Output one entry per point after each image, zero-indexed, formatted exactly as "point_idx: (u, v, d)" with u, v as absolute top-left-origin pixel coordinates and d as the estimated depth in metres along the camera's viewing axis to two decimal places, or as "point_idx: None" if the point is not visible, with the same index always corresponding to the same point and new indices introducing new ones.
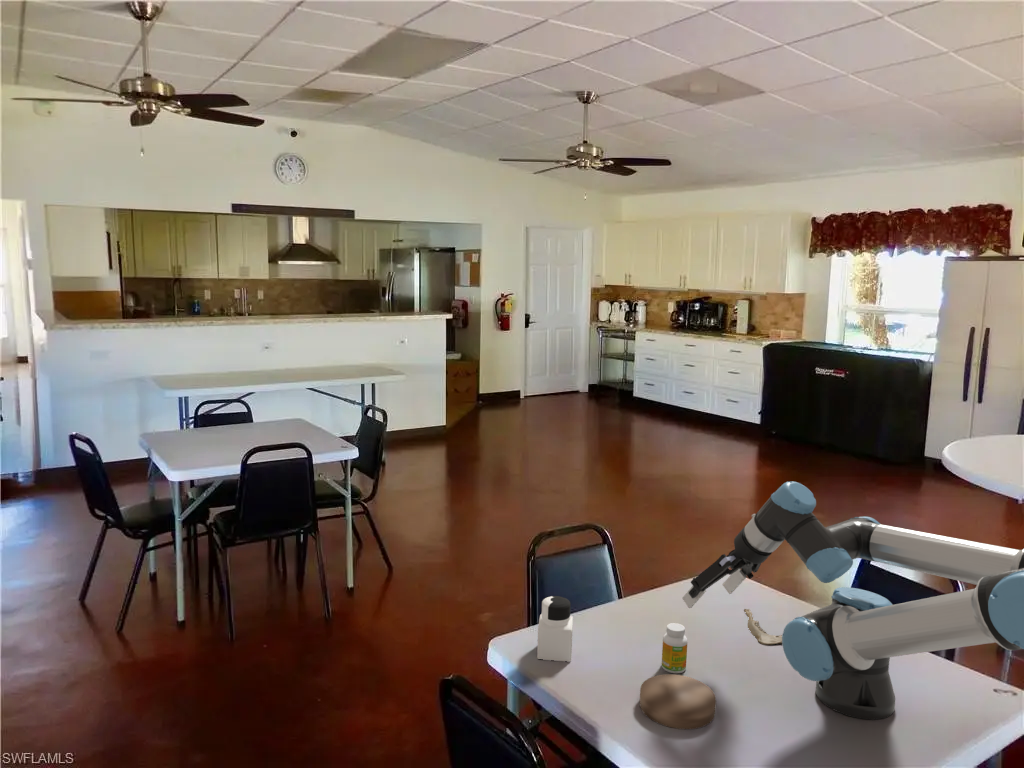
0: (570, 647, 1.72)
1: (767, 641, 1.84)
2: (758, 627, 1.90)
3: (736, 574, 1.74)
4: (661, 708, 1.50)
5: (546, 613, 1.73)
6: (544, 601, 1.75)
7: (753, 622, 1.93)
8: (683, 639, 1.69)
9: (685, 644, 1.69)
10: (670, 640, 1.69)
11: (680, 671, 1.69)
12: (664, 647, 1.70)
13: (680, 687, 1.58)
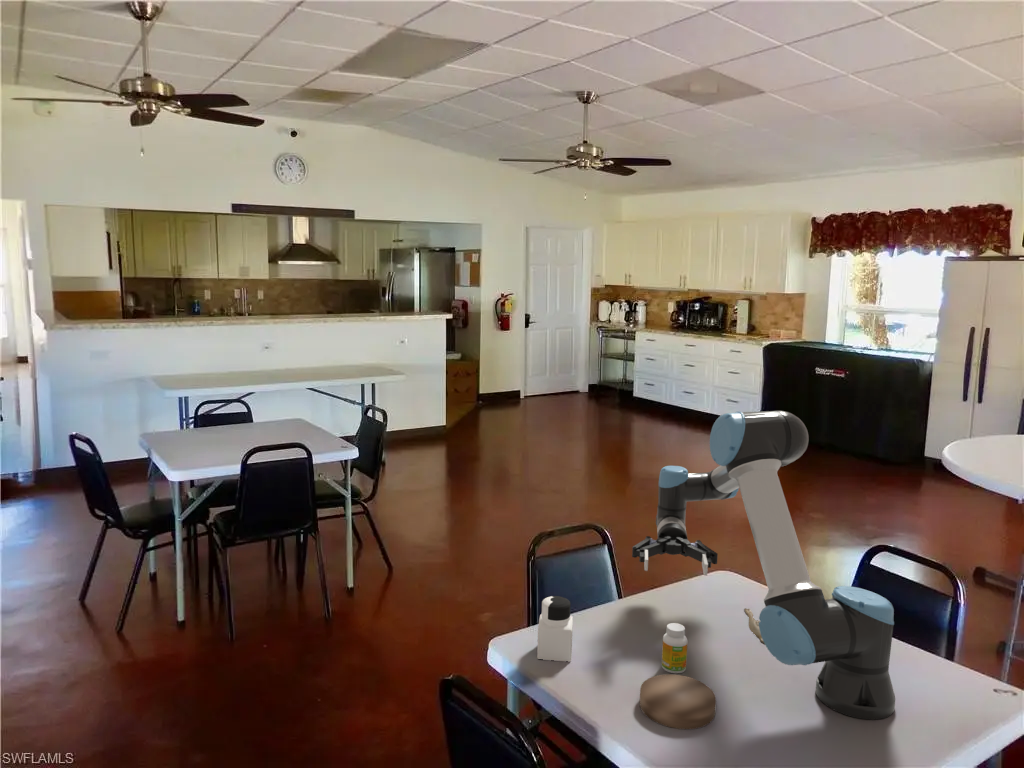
0: (570, 647, 1.72)
1: None
2: None
3: (702, 563, 1.82)
4: (661, 708, 1.50)
5: (546, 613, 1.73)
6: (544, 601, 1.75)
7: (754, 622, 1.93)
8: (683, 639, 1.69)
9: (685, 644, 1.69)
10: (670, 640, 1.69)
11: (680, 671, 1.69)
12: (664, 647, 1.70)
13: (680, 687, 1.58)
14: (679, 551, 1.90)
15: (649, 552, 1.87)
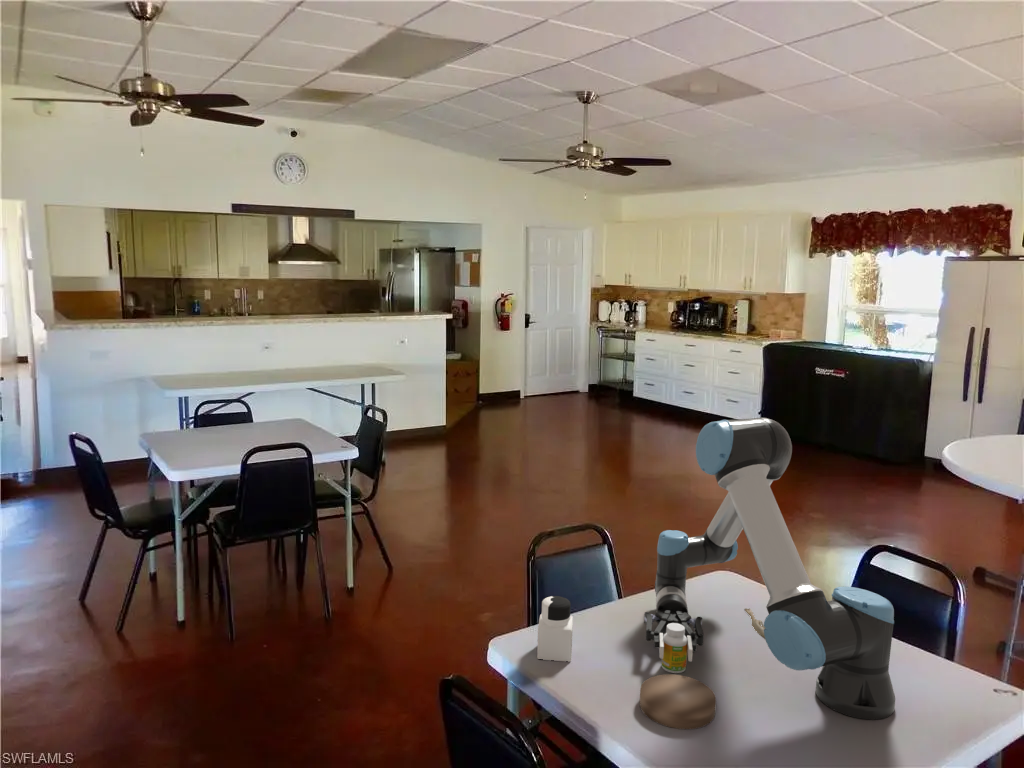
0: (570, 647, 1.72)
1: None
2: (763, 627, 1.91)
3: (687, 645, 1.70)
4: (661, 708, 1.50)
5: (546, 613, 1.73)
6: (544, 601, 1.75)
7: (757, 622, 1.93)
8: (683, 639, 1.69)
9: (685, 644, 1.69)
10: (670, 640, 1.69)
11: (680, 671, 1.69)
12: (664, 647, 1.70)
13: (680, 687, 1.58)
14: None
15: None
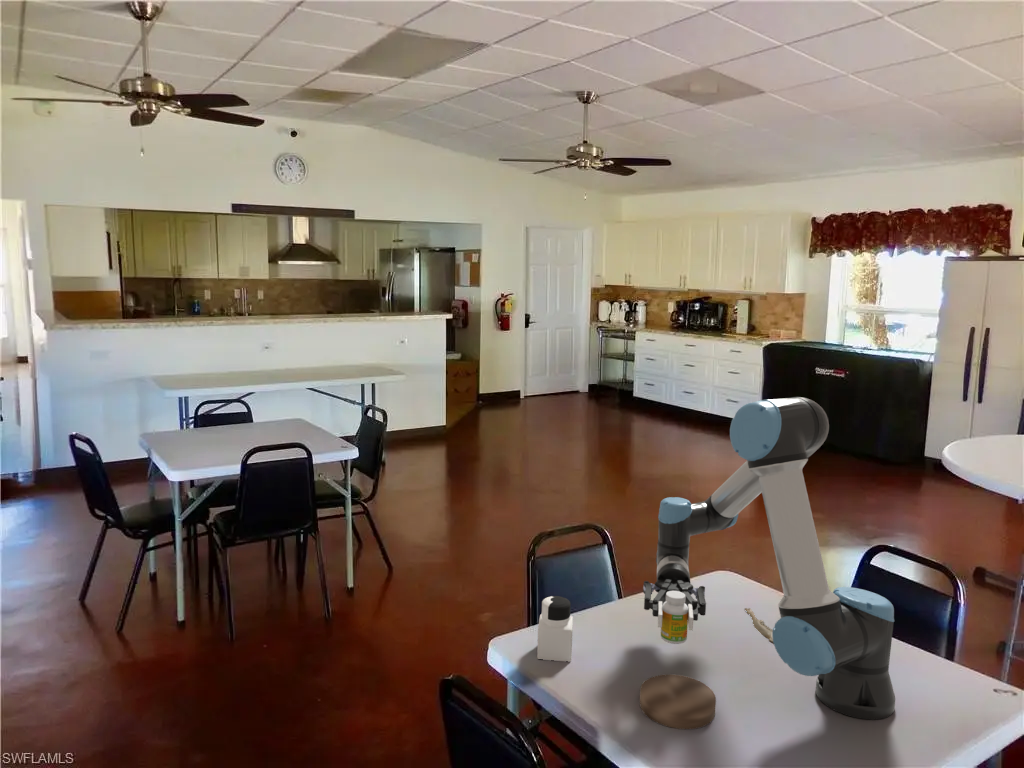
0: (570, 647, 1.72)
1: None
2: (765, 626, 1.91)
3: None
4: (661, 708, 1.50)
5: (546, 613, 1.73)
6: (544, 601, 1.75)
7: (758, 621, 1.93)
8: (684, 607, 1.58)
9: (686, 612, 1.57)
10: (670, 608, 1.57)
11: (680, 641, 1.58)
12: (663, 616, 1.59)
13: (680, 687, 1.58)
14: None
15: None
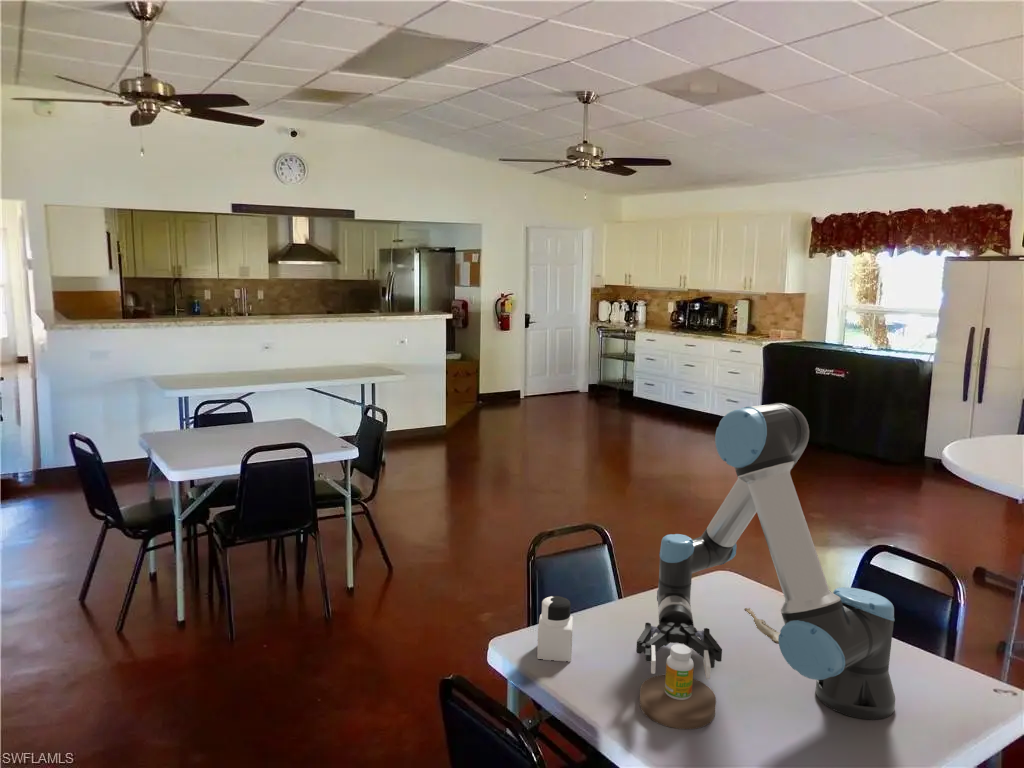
0: (570, 647, 1.72)
1: None
2: (767, 626, 1.91)
3: (704, 661, 1.54)
4: (661, 708, 1.50)
5: (546, 613, 1.73)
6: (544, 601, 1.75)
7: (760, 621, 1.94)
8: (689, 662, 1.53)
9: (691, 668, 1.52)
10: (675, 663, 1.52)
11: (685, 698, 1.53)
12: (668, 671, 1.54)
13: None
14: (684, 641, 1.63)
15: (655, 646, 1.59)
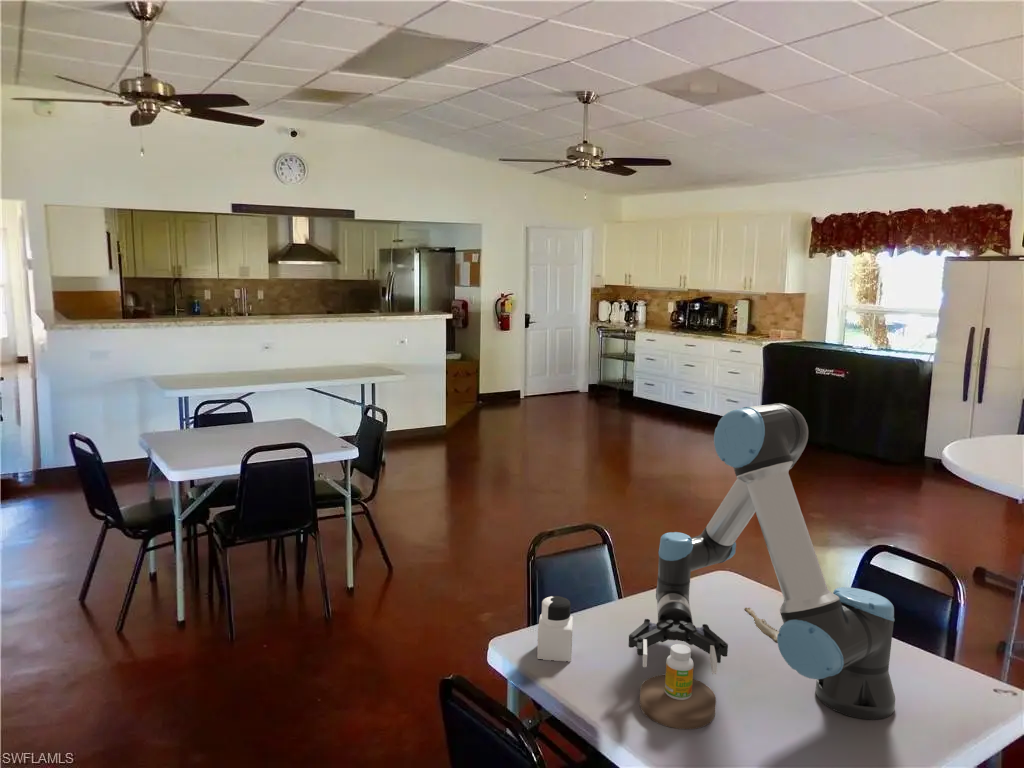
0: (570, 647, 1.72)
1: None
2: (768, 625, 1.91)
3: (710, 656, 1.56)
4: (661, 708, 1.50)
5: (546, 613, 1.73)
6: (544, 601, 1.75)
7: (760, 621, 1.94)
8: (689, 662, 1.53)
9: (691, 668, 1.53)
10: (675, 663, 1.53)
11: (685, 697, 1.53)
12: (668, 671, 1.54)
13: None
14: (683, 638, 1.64)
15: (648, 641, 1.61)
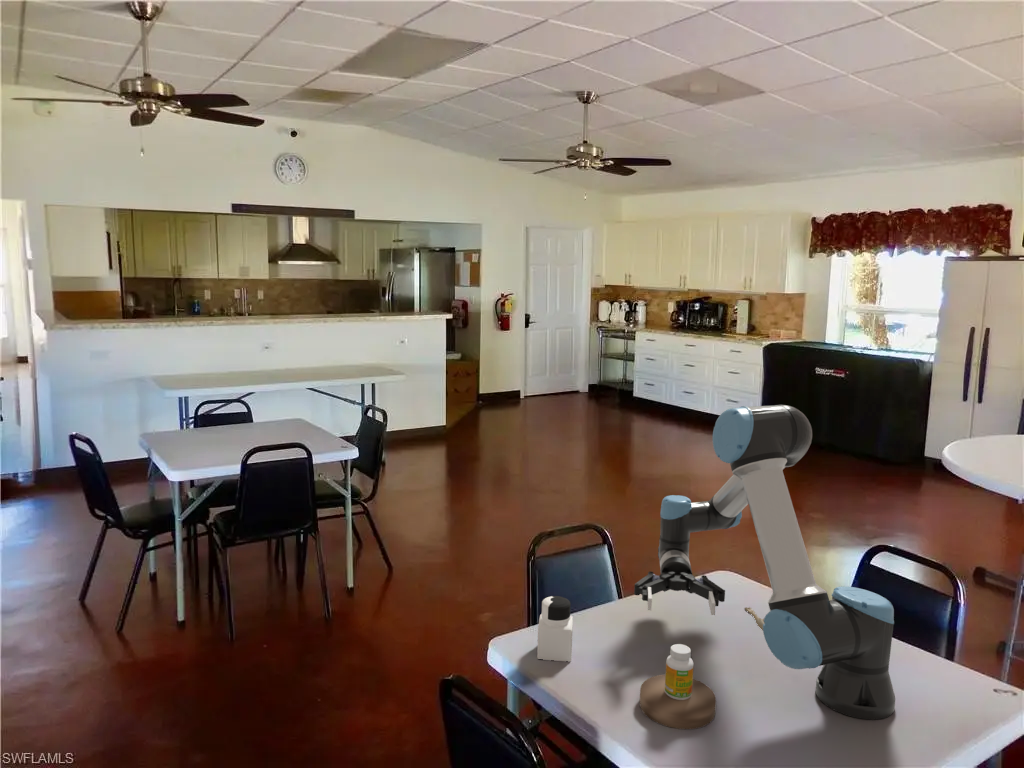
0: (570, 647, 1.72)
1: None
2: None
3: (709, 601, 1.72)
4: (661, 708, 1.50)
5: (546, 613, 1.73)
6: (544, 601, 1.75)
7: (762, 620, 1.94)
8: (689, 662, 1.53)
9: (691, 668, 1.53)
10: (674, 663, 1.52)
11: (685, 698, 1.53)
12: (668, 671, 1.54)
13: None
14: (684, 588, 1.79)
15: (652, 589, 1.76)
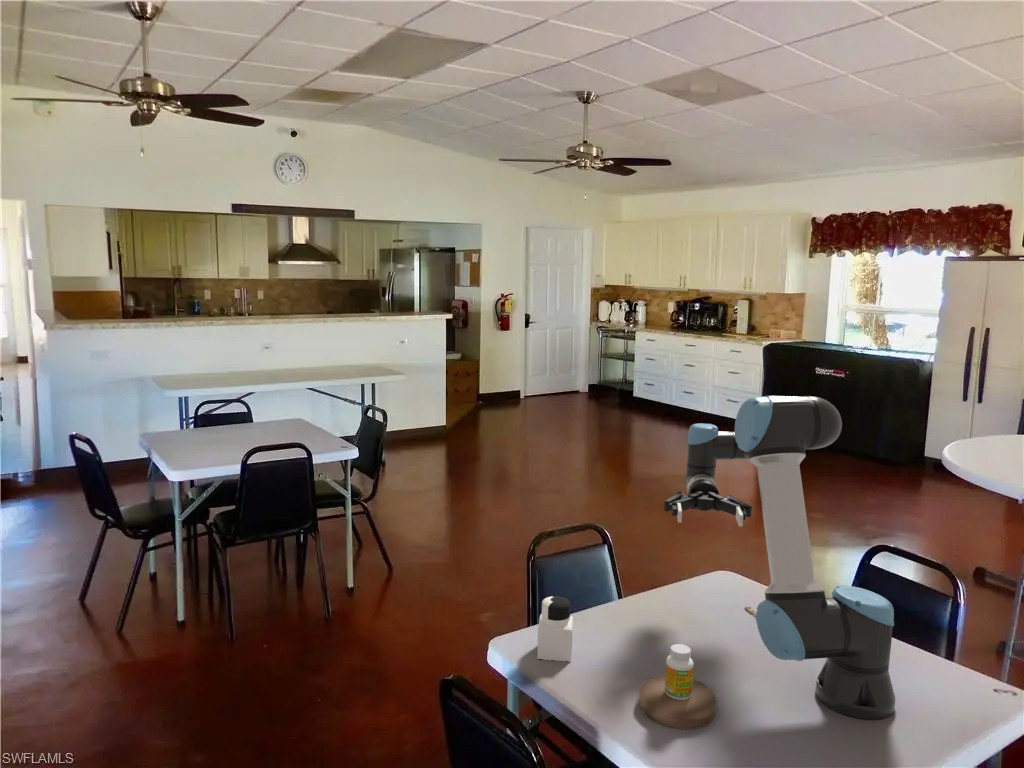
0: (570, 647, 1.72)
1: None
2: None
3: (736, 515, 1.79)
4: (661, 708, 1.50)
5: (546, 613, 1.73)
6: (544, 601, 1.75)
7: None
8: (689, 662, 1.53)
9: (691, 668, 1.53)
10: (674, 663, 1.53)
11: (685, 698, 1.53)
12: (667, 671, 1.54)
13: None
14: (711, 505, 1.86)
15: (681, 506, 1.84)
